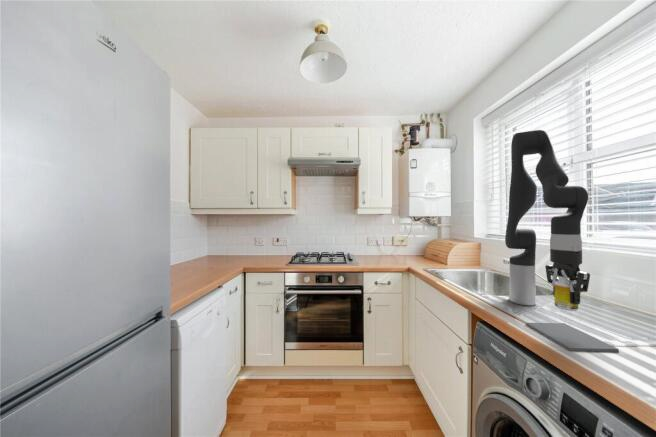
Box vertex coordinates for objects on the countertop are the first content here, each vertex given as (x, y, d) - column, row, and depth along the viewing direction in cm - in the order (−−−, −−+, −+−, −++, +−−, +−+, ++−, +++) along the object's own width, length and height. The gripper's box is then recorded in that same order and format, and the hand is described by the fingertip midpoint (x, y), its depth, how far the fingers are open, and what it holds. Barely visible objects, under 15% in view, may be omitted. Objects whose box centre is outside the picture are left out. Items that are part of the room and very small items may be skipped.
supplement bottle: (575, 312, 78) (575, 279, 78) (552, 307, 83) (551, 276, 83) (580, 309, 81) (580, 277, 81) (557, 304, 86) (557, 274, 86)
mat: (525, 324, 91) (525, 322, 91) (564, 325, 90) (564, 323, 90) (570, 350, 73) (570, 348, 73) (618, 351, 72) (618, 349, 72)
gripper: (536, 245, 89) (537, 294, 89) (573, 251, 75) (573, 308, 75) (559, 245, 89) (559, 294, 89) (600, 251, 75) (601, 308, 74)
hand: (566, 300), depth 82 cm, fingers closed on supplement bottle, 5 cm apart
